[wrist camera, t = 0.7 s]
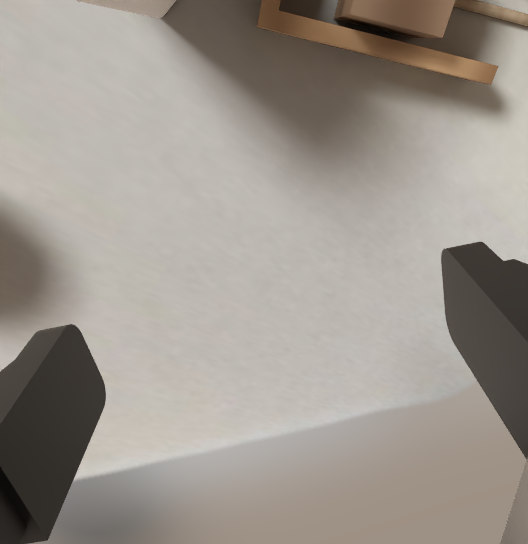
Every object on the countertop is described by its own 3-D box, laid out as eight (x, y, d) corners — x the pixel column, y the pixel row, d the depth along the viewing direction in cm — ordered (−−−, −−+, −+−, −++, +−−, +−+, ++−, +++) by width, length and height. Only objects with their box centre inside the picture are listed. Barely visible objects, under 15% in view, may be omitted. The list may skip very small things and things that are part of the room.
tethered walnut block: (333, 18, 30) (349, 13, 25) (358, -77, 28) (381, -106, 23) (593, 84, 32) (661, 94, 26) (634, -1, 30) (717, -10, 24)
